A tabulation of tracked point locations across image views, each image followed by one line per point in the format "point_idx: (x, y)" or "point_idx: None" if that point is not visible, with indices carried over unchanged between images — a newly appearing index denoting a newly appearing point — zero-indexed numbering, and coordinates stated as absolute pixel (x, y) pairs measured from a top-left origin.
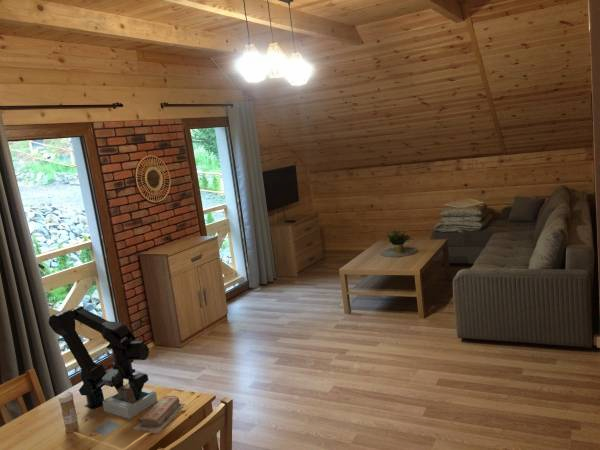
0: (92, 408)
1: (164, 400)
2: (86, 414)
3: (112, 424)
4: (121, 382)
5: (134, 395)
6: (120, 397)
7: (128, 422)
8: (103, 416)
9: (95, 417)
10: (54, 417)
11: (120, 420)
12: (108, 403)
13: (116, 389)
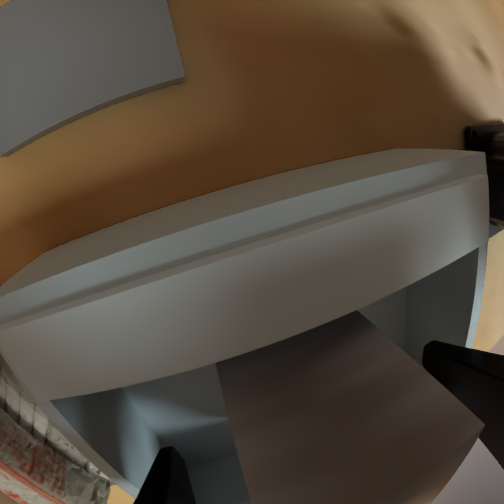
0: (480, 129)
1: (29, 496)
2: (455, 74)
3: (71, 84)
4: (502, 443)
5: (162, 499)
6: (359, 358)
7: (24, 229)
8: (348, 106)
9: (384, 66)
10: (497, 16)
11: (115, 182)
12: (407, 165)
13: (499, 360)
